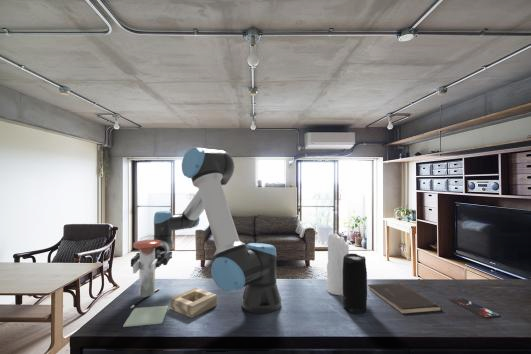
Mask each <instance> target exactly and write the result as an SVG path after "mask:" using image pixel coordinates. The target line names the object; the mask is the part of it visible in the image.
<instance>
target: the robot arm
mask: <svg viewBox="0 0 531 354" xmlns="http://www.w3.org/2000/svg"><path fill="white" fill-rule="evenodd" d="M181 171H182V174H183V176H184V177H186V178H188V179H191V182H192V185H193V186H194V187H195V188H197V189H198V190H197V192H196V193H195V194H194V196H193V197H192V199H191V200H190V202H189V203H188V204H187V206H186V207H185V209H184V210H183V212H182V213H176V214H173V213H172V212H171V211H170V210H161V211H156V212H155V213H154V217H153V232H154V233H153V240H160V241H161V246H159V247H155V260H154V261H153V263H152V264H151V272H154V271H155V272H156V269H157V268H160V266H162V265H163V266H166V265H168V263H169V261H170V260H171V259H172V258H173V251H171V249H172V247H173V239H172V233H173V231H179V230H180V231H181V230H187V229H193V228H196V227H197V226H198V225H199V223H200V216H201V214H202V213H203V212H204V211H205V215H206V218H207V221H208V223H209V225H208V226H209V228H210V231H211V235H212V238H213V241H214V245H215V248H216V250H215V252H214V254H213V257H214V261H212V263H211V268H210V270H211V271H210V272H211V273H210V274H211V277H212V280H213V282H214V284H215V285H216V286H217V287H218V288H219V289H221V290H222V291H223V292H229V293H232V292H235V291H239V290H241V289H243V288H244V291H243V293H242V297H241V306H242V308H243V309H244V310H245V311H247V312H249V313H252V314H269V313H272V312H276V311H277V310H279V309H280V308H281V306H282V297H281V295H280V291H279V288H278V285H277V249H276V247H275V246H274V245H273V244H270V243H269V244H267V243H262V242H261V243H259V242H251V243H250V242H249V243H247V244H246V243H245V242H242V241H241V240H240V237H239V234H238V232H237V228H236V225H235V222H234V220H233V215H232V213H231V209H230V207H229V204H228V200H227V198H226V194H225V192H224V188H223V186H226V185H227V184H228V183H229V182H230V180H231V178H232V177H233V174H234V171H235V163H234V160H233V158H232V156H231V154H229V153H228V152H227V151H224V150H222V149H210V148H203V147H190V148H189V149H187V150H186V152H185V153H184V155H183V157H182V160H181ZM130 267H131V268H132V274H136V273H138V271H139V270H140V252H136V253H135V256H133V257H132V258H131V259H130Z"/></svg>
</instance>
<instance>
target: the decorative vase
mask: <svg viewBox="0 0 531 354" xmlns="http://www.w3.org/2000/svg"><path fill="white" fill-rule="evenodd" d="M349 252H350V250H349V244H348V243H347V241H346V240H345V238H344V236H340V235H339V234H338V233H332V232H330V233H328V235H327V264H326V280H325V290H326V292H328V293H329V294H332V295H337V296H343V258H344V256H345V255H347V254H350V253H349Z"/></svg>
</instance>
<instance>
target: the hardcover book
mask: <svg viewBox="0 0 531 354" xmlns="http://www.w3.org/2000/svg"><path fill="white" fill-rule="evenodd" d="M367 287H368V289H369V290H370V291H371V292H372V293H374V294H375V295H376V296H378V297H379V298H381V299H382V300H383V301H385V302H386V303H387V304H389V305H390V306H391V307H393V308H395V310H397V311H398V312H399V313H401V314H410V313H423V312H436V311H442V306H441V305H439V304H438V303H436V302H435V301H432V300H430V299H429V298H427V297H426V296H424V295H422V294H421V293H418V292H416V291H415V290H413V289H411V288H409V286H406V285H405V284H402V283H401V282H394V283H379V284H378V283H375V284H374V283H373V284H367Z"/></svg>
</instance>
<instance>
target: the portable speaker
mask: <svg viewBox="0 0 531 354" xmlns="http://www.w3.org/2000/svg"><path fill="white" fill-rule="evenodd" d="M366 261H367V260H366V256H362V255H359V254H357V253H349V254H347V255H345V256H344V258H343V295H342V298H343V307H344V309H347V310H348V312H349V313H350V314H353V315H362V313H363V312H365V311H366V309H367V304H368V303H367V301H368V272H367V264H366V263H367V262H366Z"/></svg>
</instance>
